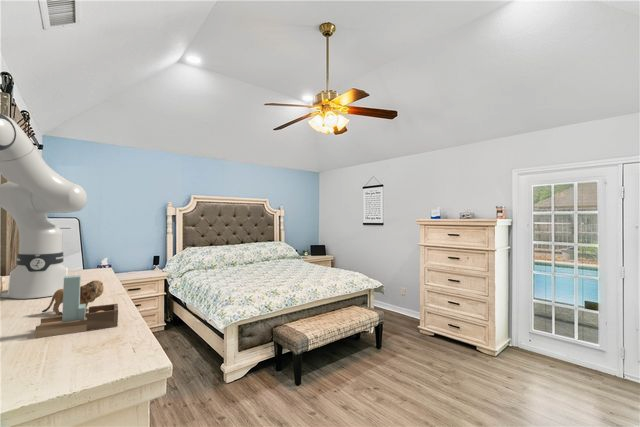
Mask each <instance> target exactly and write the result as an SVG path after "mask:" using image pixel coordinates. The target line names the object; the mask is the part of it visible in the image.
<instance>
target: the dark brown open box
mask: <svg viewBox="0 0 640 427" xmlns="http://www.w3.org/2000/svg"><path fill="white" fill-rule="evenodd" d="M118 305H119V304H118V303H112V304H102V305H95V306H93V305H92V306H89V307H88V309H89V311H88V312H86V313H87V331H86V332H89V331H94V330H102V329H109V328H114V327H116V328H117V327H118V325H119V324H118V323H119V320H118V319H119V306H118ZM97 311H102V312H97Z"/></svg>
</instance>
